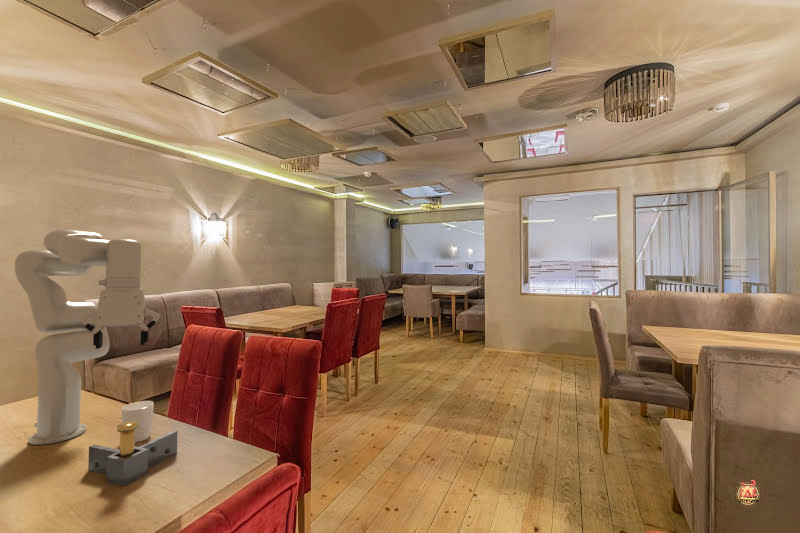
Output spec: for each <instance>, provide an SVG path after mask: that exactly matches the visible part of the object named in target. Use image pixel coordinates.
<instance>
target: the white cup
mask: <svg viewBox="0 0 800 533" xmlns="http://www.w3.org/2000/svg"><path fill="white" fill-rule="evenodd" d="M154 408H155V403H154V401H153V400H142V401H141V400H140V401H135V402H131V403H128V404H125V405H124V406H122V407H121V424H122V423H125V422H129V421H137V422H138V427H137V428H136V429H135V443H139V442H142V441H145V440H148V439H149V438H150V437H151V435H152V426H153V418H154Z"/></svg>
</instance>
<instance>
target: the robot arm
mask: <svg viewBox="0 0 800 533" xmlns="http://www.w3.org/2000/svg"><path fill="white" fill-rule="evenodd" d="M43 245H44V247H45V249H32V250H27V251H26V250H25V251H22V252H21V253H19V254H18V255H17V256H16V258H15V262H14V273H15V276H16V279H17V282H18V283H19V285H20V286H21V287H22V289H23V290H24V292H25V293H26V295H27V297H28V301H29V304H30V308H31V313H32V317H33V321H34V325H35V326H36V328H37V330H38V331H39V332H41V333H44V334H50V335H47V336H43V337H42V338H40V339H39V340H38V341H37V342H36V344H35V346H34V347H35V348H34V353H35V359H36V364H37V370H38V375H37V376H38V386H37V387H38V388H37V389H38V390H37V417H36V418H37V419H36V423H35V424H34V425H33V426H34V428H36V433H34V434H32V435H31V436H30V437H29V439H28V442H29V444H30V445H34V446H35V445H37V446H41V445H49V444H54V443H60V442H65V441H66V440H71V439H72V438H75V437H78V436H80V435H81V434H83V433H85V431H87V425H86V424H84V423H80V422H81V400H82V399H81V396H82V394H81V393H82V374H81V372H80V371H79V370H78V369H77V368H75V367H74V366H73V365H72V363H76V362H81V361H88V360H94V359H97V358H101V357H103V356H105V355H107V354H108V352H109V350H110V343H111V341H110V337H109V334H108V330H107V327H108V328H109V327H124V326H127V327H128V326H138V327H140V329H141V332H140V346H141V347H142V346H145V345H146V343H148V342H149V330H151V328H152V327H153V326H155V325H156V324H157V322H158V321H159V319H160V318H161V316H162V315H161V314H160V313H158V312H156V311H153V310H150V309H149V308H146V300H145V299H146V298H145V293H144V288H141V272H142V270H141V267H142V265H141V264H142V244H141V242H139V241H138V240H134V239H123V238H122V239H121V238H119V239H118V238H116V239H110V240H109V239H105V238H104V237H103V236H102V235H101V234H100V233H97V232H95V231H94V232H93V231H83V230H75V229H74V230H73V229H56V230H52V231H50V232H48V233H47V234H46V235H45V237H44V238H43ZM93 267H105V277H104V279H100V280H99V279H98V285H99V286H104V288H105V289H101V290H100V293H99V297H98V303H97V304H96V303H94V302H91V301H75V302H74V301H69V299H68V297H67V295H66V294H67V293H66V291H65V289H64V288H63V286H61V285H60V284H59V283H58V282H56V281H54V280H53V279H51V278H49V277H81V276H84V275H87V274H88V273H89V272H90V271H91V270H92V268H93ZM146 316H150V317H152V319H151V321H150V322H149V323H147V322H146Z"/></svg>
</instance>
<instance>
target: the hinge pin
mask: <svg viewBox="0 0 800 533" xmlns="http://www.w3.org/2000/svg"><path fill="white" fill-rule="evenodd" d="M137 427H138V422H137V421H129V422H125V423H122V422H121V423H120V424H118V425H117V427H116V428H117V429H116V431H117V433H120V434H119V450H120V457H121V458H127V457H129V456H131V455H133V454H134V446H135V429H136V428H137Z"/></svg>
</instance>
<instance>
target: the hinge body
mask: <svg viewBox="0 0 800 533" xmlns="http://www.w3.org/2000/svg"><path fill="white" fill-rule="evenodd" d="M177 453H178V430H172V431H171V432H168V433H166V434H164V435H162V436H159V437H157V438H155V439H152V440H151V441H148V442H147V443H144V444H142V445H139V446H135V445H134V454H133V455H131V456H129V457H127V458H121V457H120V448H119V449H118V448H113V447H109V446H104V445H99V444H95V443H94V444H93V445H89V446H88V468H87V469H88V471H89V472H94V473H98V474H101V475H105V483H107V484H111V485H114V486H119V487H125V486H127V485H129V484H132V483H133V482H134V481H136V480H139V479H140V478H143V476H146V475H148V474H149V472H148V471H149V468H151V467H153V466H155V465H156V464H159V463H161V462H162V461H164V460H166V459H168V458H170V457H172V456H174V455H176V454H177Z"/></svg>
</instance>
